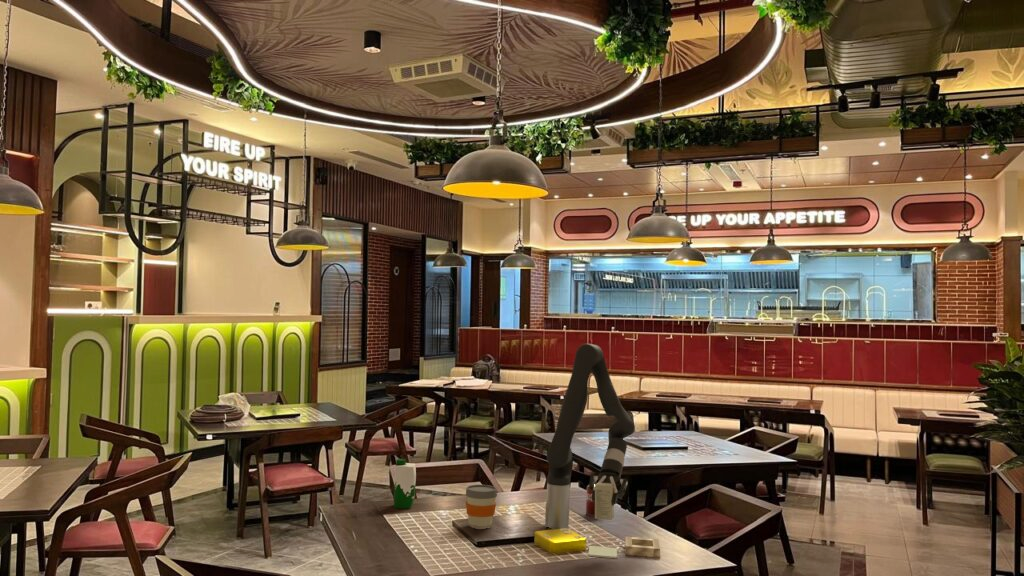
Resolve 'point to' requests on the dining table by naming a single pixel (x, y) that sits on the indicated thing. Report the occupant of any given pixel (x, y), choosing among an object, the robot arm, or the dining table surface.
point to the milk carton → (404, 484)
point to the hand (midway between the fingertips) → (603, 502)
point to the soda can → (590, 503)
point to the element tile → (560, 540)
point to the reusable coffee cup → (480, 504)
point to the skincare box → (604, 501)
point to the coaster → (602, 552)
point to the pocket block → (642, 547)
